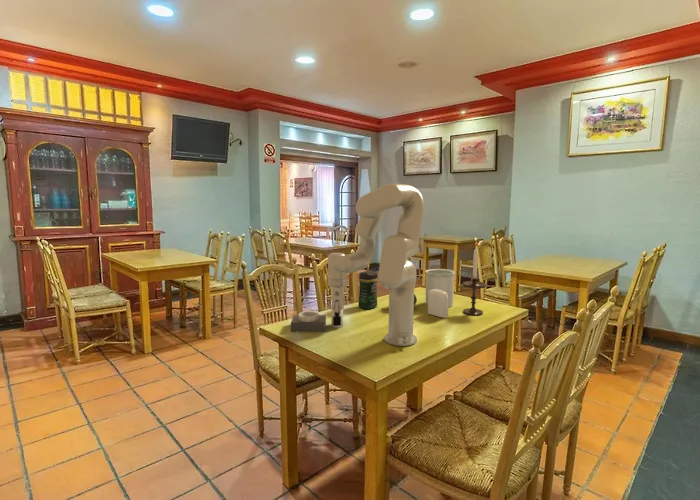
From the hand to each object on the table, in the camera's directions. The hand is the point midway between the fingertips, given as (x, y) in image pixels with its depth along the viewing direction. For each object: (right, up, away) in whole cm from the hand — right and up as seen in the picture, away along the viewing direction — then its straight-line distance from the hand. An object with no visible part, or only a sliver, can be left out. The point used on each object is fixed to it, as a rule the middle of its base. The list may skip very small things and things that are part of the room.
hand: (337, 322), depth 168 cm
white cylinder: (0, -1, 0) cm, 2 cm away
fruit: (+33, +2, +28) cm, 43 cm away
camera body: (-12, -2, -2) cm, 12 cm away
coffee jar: (+15, +2, +29) cm, 33 cm away
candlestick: (+65, +1, +20) cm, 68 cm away
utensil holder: (+52, +3, +35) cm, 62 cm away
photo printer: (+47, 0, +16) cm, 49 cm away
